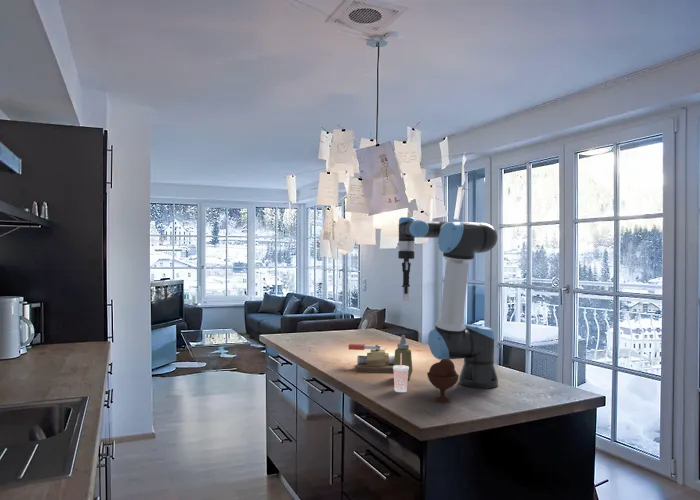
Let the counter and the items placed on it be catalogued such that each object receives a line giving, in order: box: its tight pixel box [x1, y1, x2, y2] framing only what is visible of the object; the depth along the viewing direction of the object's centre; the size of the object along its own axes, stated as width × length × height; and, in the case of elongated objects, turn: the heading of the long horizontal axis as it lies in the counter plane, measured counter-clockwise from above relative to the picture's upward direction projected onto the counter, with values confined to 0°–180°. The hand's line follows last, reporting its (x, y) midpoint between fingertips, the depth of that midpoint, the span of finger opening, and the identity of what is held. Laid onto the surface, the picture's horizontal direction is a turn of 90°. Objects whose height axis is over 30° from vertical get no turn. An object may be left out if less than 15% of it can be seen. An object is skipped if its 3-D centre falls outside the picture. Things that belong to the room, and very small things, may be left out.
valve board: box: [356, 349, 395, 374], centre depth 230 cm, size 14×18×8 cm
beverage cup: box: [393, 353, 409, 393], centre depth 194 cm, size 6×6×14 cm
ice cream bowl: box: [426, 359, 460, 404], centre depth 182 cm, size 11×11×15 cm
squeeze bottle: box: [393, 334, 413, 380], centre depth 212 cm, size 8×8×18 cm
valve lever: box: [348, 343, 381, 351], centre depth 230 cm, size 14×3×2 cm, turn 82°
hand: (405, 300), depth 241 cm, fingers closed
